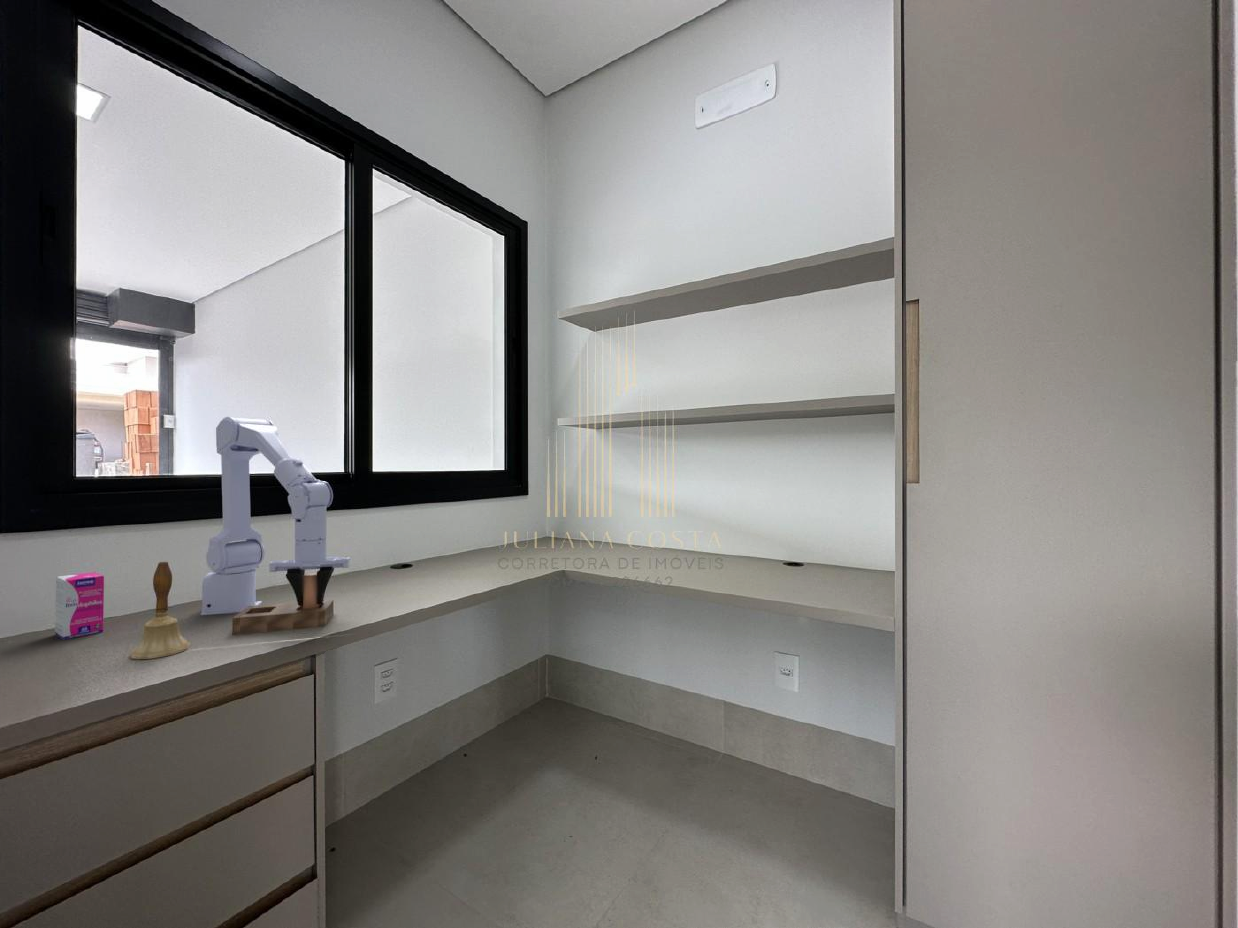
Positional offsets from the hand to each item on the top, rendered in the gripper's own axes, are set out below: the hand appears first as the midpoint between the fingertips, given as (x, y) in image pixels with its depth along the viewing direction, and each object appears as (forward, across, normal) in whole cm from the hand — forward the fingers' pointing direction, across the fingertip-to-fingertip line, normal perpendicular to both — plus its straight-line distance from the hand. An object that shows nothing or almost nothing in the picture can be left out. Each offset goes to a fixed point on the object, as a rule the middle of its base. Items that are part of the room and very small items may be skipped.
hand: (310, 603), depth 110 cm
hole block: (+4, -4, 0) cm, 6 cm away
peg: (+3, 0, 0) cm, 3 cm away
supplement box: (+4, -42, +7) cm, 42 cm away
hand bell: (+4, -22, -10) cm, 24 cm away
